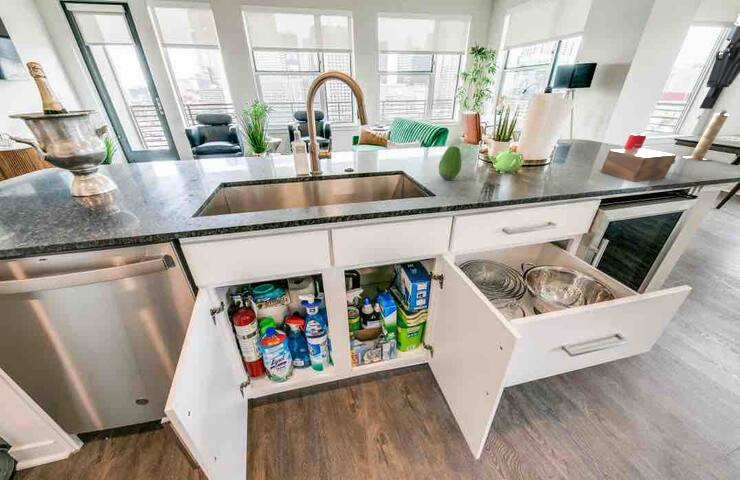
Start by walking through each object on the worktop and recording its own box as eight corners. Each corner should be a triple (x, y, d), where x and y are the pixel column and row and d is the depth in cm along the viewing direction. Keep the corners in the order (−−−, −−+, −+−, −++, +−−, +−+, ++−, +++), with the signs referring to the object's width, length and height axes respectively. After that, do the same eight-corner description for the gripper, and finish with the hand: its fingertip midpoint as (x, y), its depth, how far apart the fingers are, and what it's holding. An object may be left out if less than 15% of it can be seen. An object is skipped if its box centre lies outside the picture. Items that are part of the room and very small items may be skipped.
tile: (694, 157, 127) (695, 156, 126) (712, 161, 120) (712, 159, 120) (680, 157, 126) (681, 156, 126) (697, 161, 120) (698, 160, 120)
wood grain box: (629, 169, 110) (639, 148, 106) (664, 178, 100) (676, 155, 95) (600, 172, 107) (609, 150, 103) (632, 181, 97) (644, 157, 93)
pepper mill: (701, 157, 123) (729, 109, 114) (704, 159, 121) (733, 110, 111) (689, 156, 125) (715, 109, 116) (691, 158, 123) (718, 110, 113)
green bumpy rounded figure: (525, 171, 109) (531, 149, 105) (513, 177, 102) (519, 154, 98) (497, 166, 116) (501, 145, 112) (485, 171, 109) (489, 150, 105)
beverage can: (631, 163, 119) (645, 133, 113) (634, 165, 115) (648, 135, 109) (616, 161, 121) (629, 132, 115) (618, 164, 117) (631, 134, 111)
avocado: (459, 183, 97) (464, 148, 91) (436, 181, 99) (440, 147, 93) (459, 176, 103) (464, 143, 97) (438, 175, 105) (441, 143, 99)
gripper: (749, 26, 89) (705, 107, 101) (720, 25, 86) (678, 108, 98) (784, 22, 82) (733, 108, 94) (753, 21, 80) (705, 109, 92)
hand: (705, 108), depth 96 cm, fingers closed
